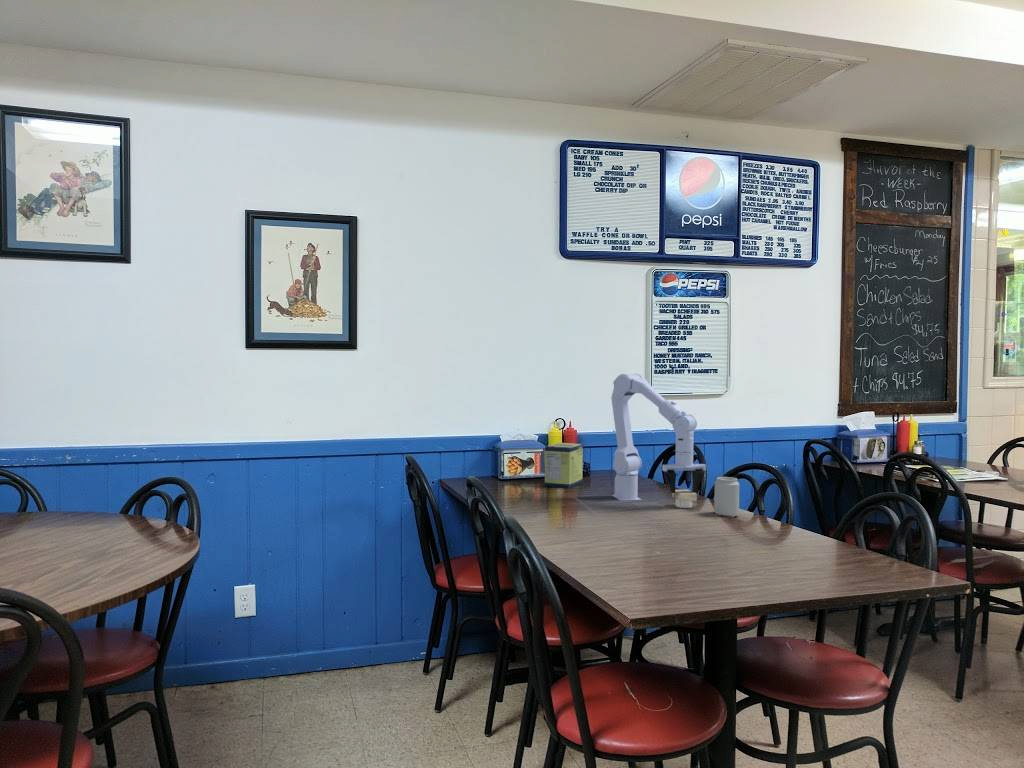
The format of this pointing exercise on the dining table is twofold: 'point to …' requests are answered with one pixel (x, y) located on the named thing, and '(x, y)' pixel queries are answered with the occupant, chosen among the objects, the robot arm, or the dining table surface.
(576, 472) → the protein box
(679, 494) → the block
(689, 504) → the bowl
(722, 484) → the can
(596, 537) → the dining table surface
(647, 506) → the mat
